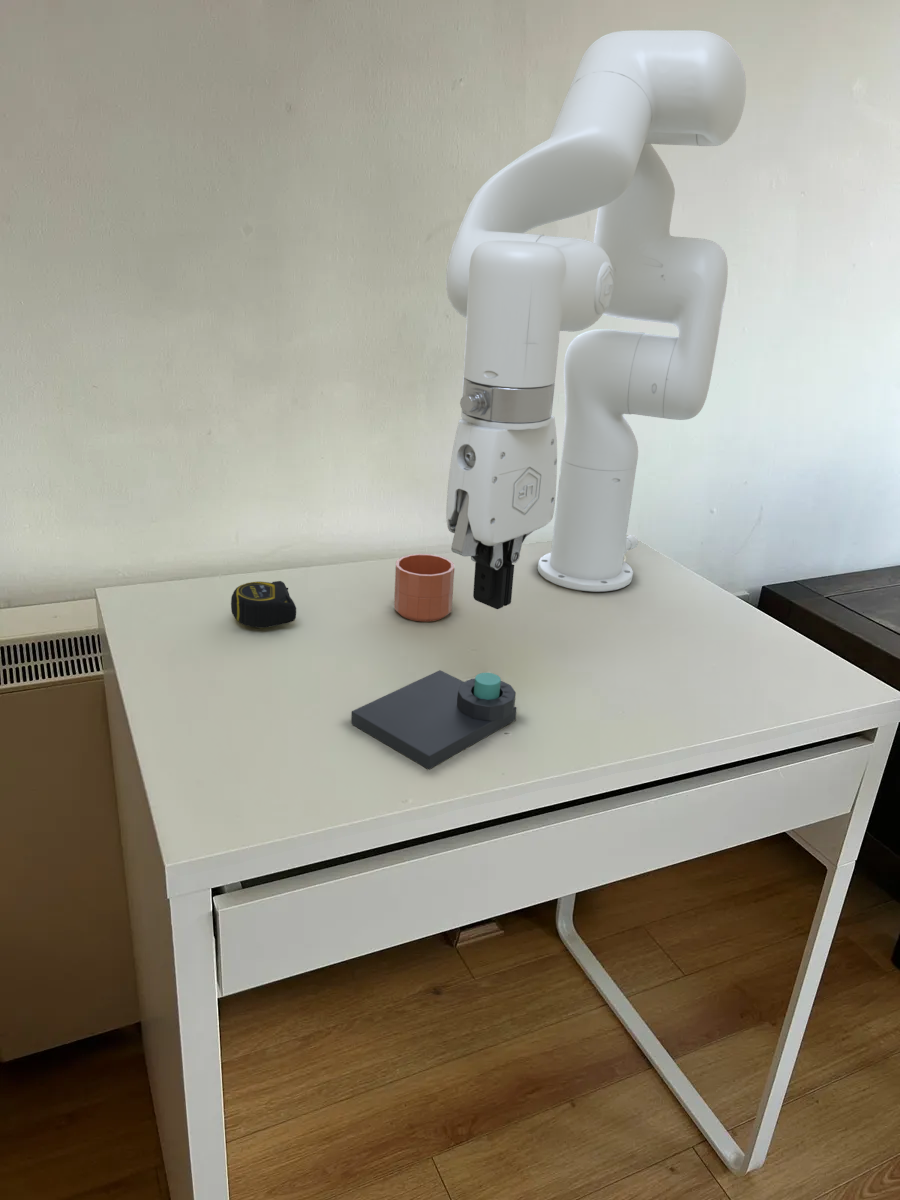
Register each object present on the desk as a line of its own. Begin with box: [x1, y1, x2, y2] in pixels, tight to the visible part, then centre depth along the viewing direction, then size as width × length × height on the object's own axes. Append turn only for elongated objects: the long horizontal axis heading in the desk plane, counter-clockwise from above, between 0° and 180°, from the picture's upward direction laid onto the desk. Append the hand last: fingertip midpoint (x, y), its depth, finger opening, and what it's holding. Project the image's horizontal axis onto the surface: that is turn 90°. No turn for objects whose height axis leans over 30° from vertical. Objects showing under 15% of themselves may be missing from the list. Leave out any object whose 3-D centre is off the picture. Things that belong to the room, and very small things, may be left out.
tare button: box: [474, 672, 502, 700], centre depth 84 cm, size 2×2×2 cm
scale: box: [350, 669, 517, 770], centre depth 84 cm, size 13×10×3 cm
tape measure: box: [230, 580, 297, 629], centre depth 102 cm, size 7×7×4 cm
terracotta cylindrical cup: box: [393, 553, 455, 623], centre depth 106 cm, size 7×7×6 cm
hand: (491, 601), depth 82 cm, fingers closed
